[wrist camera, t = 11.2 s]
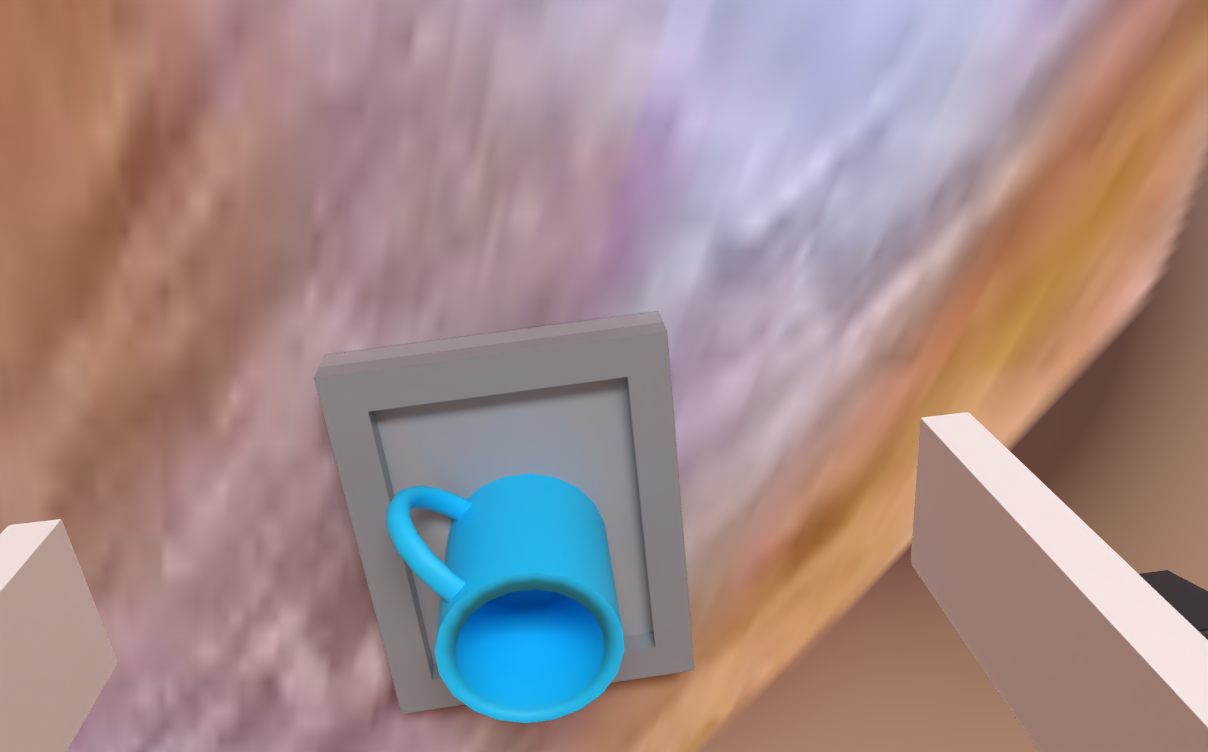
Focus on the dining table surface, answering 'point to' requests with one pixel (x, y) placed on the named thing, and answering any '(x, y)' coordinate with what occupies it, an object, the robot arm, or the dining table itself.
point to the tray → (516, 468)
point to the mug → (518, 595)
